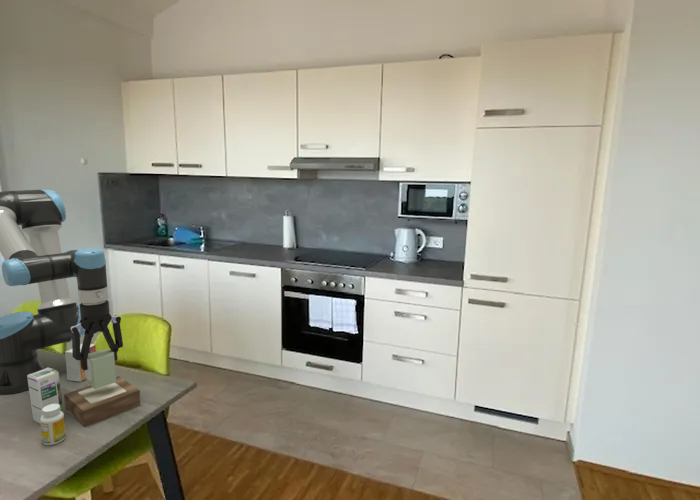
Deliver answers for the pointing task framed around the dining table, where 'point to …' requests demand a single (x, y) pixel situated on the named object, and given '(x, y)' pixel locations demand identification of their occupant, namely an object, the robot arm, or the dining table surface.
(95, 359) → the sage block
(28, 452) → the dining table surface
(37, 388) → the syrup box
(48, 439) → the supplement bottle
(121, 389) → the walnut base
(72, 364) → the small box
